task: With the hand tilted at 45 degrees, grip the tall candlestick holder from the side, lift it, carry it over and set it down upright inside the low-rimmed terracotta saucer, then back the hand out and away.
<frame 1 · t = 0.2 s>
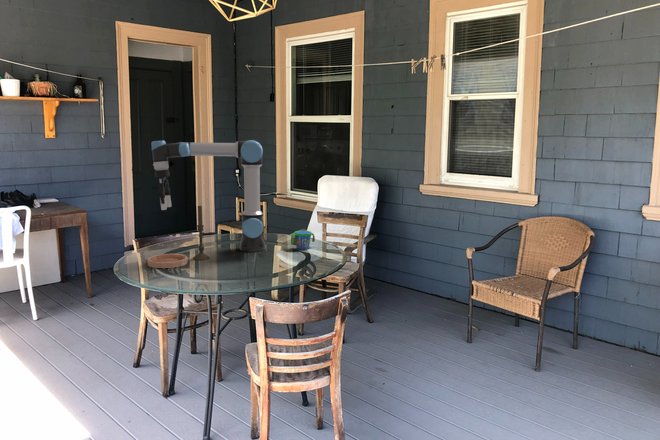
hand: (166, 208, 287), 28 cm above the table, tool pointing down, fingers open, 13 cm apart
saucer: (167, 263, 279), on the table
candlestick holder: (201, 258, 291), on the table
snack cup: (302, 248, 317), on the table
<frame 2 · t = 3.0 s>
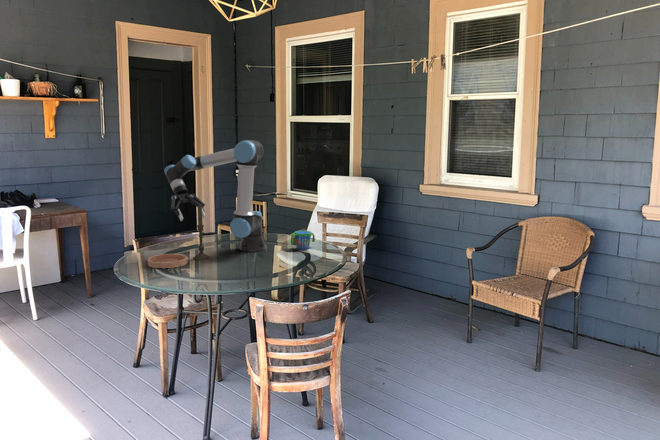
hand: (193, 218, 291), 22 cm above the table, tool tilted 45°, fingers open, 13 cm apart
nothing on the table moved.
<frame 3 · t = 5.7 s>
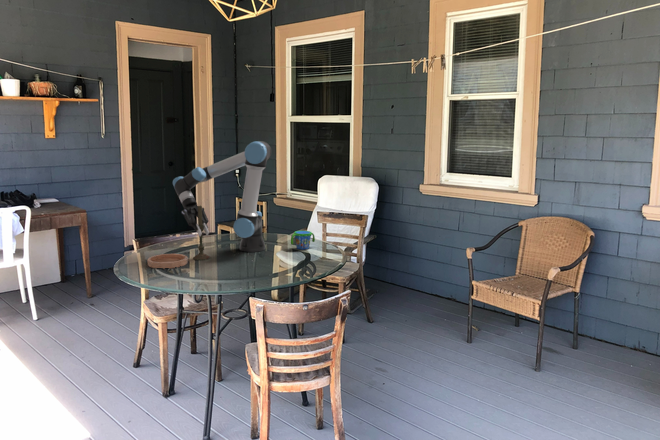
hand: (204, 234, 286), 14 cm above the table, tool tilted 45°, fingers closed on candlestick holder, 4 cm apart
candlestick holder: (201, 258, 291), on the table, touching gripper
everything else where it was.
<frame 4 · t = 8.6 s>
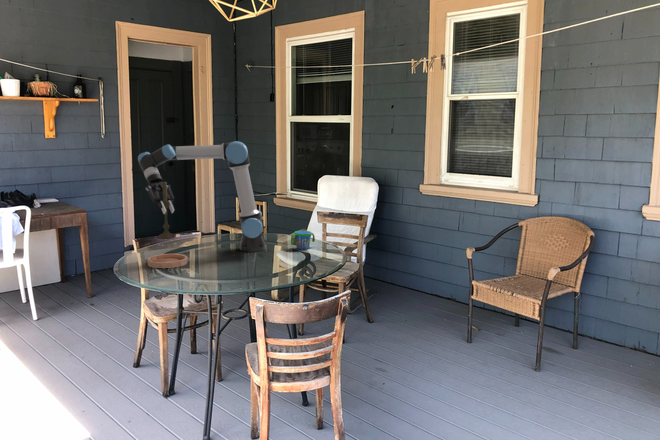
hand: (169, 211, 271), 28 cm above the table, tool tilted 45°, fingers closed on candlestick holder, 4 cm apart
candlestick holder: (166, 237, 277), point 14 cm above the table, touching gripper
everything else where it was.
when the fingers open (17 cm above the table, at t = 11.5 s): candlestick holder drops 1 cm, resting on saucer.
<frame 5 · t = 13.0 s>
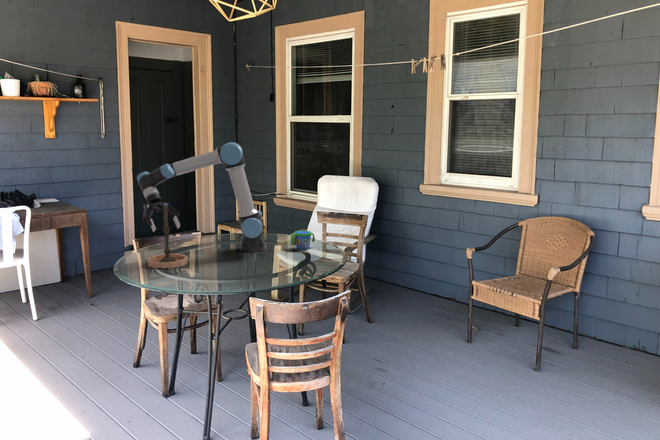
hand: (167, 228, 275), 19 cm above the table, tool tilted 45°, fingers open, 13 cm apart
candlestick holder: (167, 262, 279), point 1 cm above the table, touching saucer
everything else where it was.
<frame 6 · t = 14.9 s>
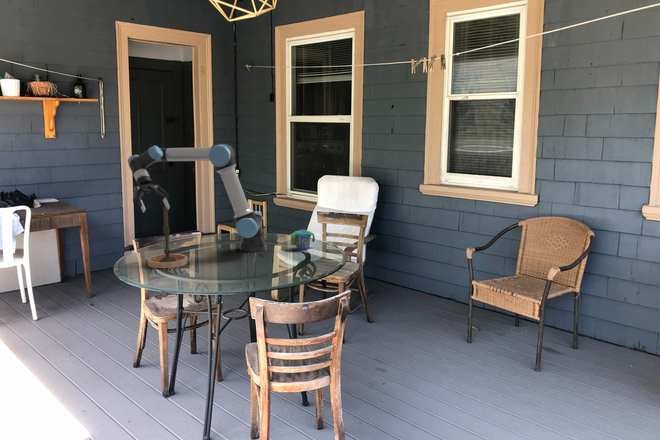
hand: (156, 209, 281), 28 cm above the table, tool tilted 45°, fingers open, 13 cm apart
nothing on the table moved.
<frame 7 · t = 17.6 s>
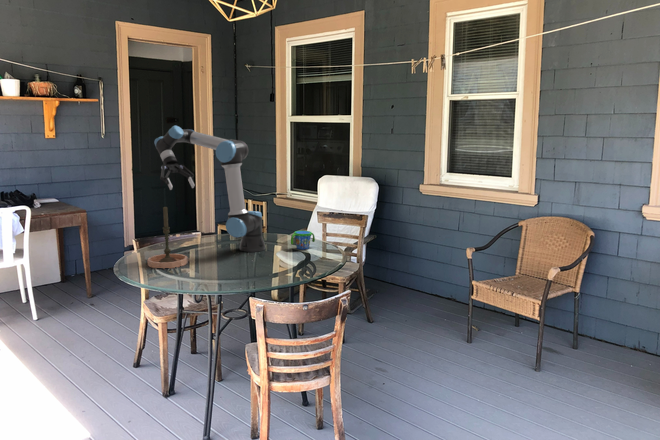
hand: (182, 187, 298), 38 cm above the table, tool tilted 45°, fingers open, 13 cm apart
nothing on the table moved.
at the end: candlestick holder inside the target area on the saucer (0.1 cm from its centre), point 0.8 cm above the saucer's base; candlestick holder tilted 0°; the gripper is holding nothing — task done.
